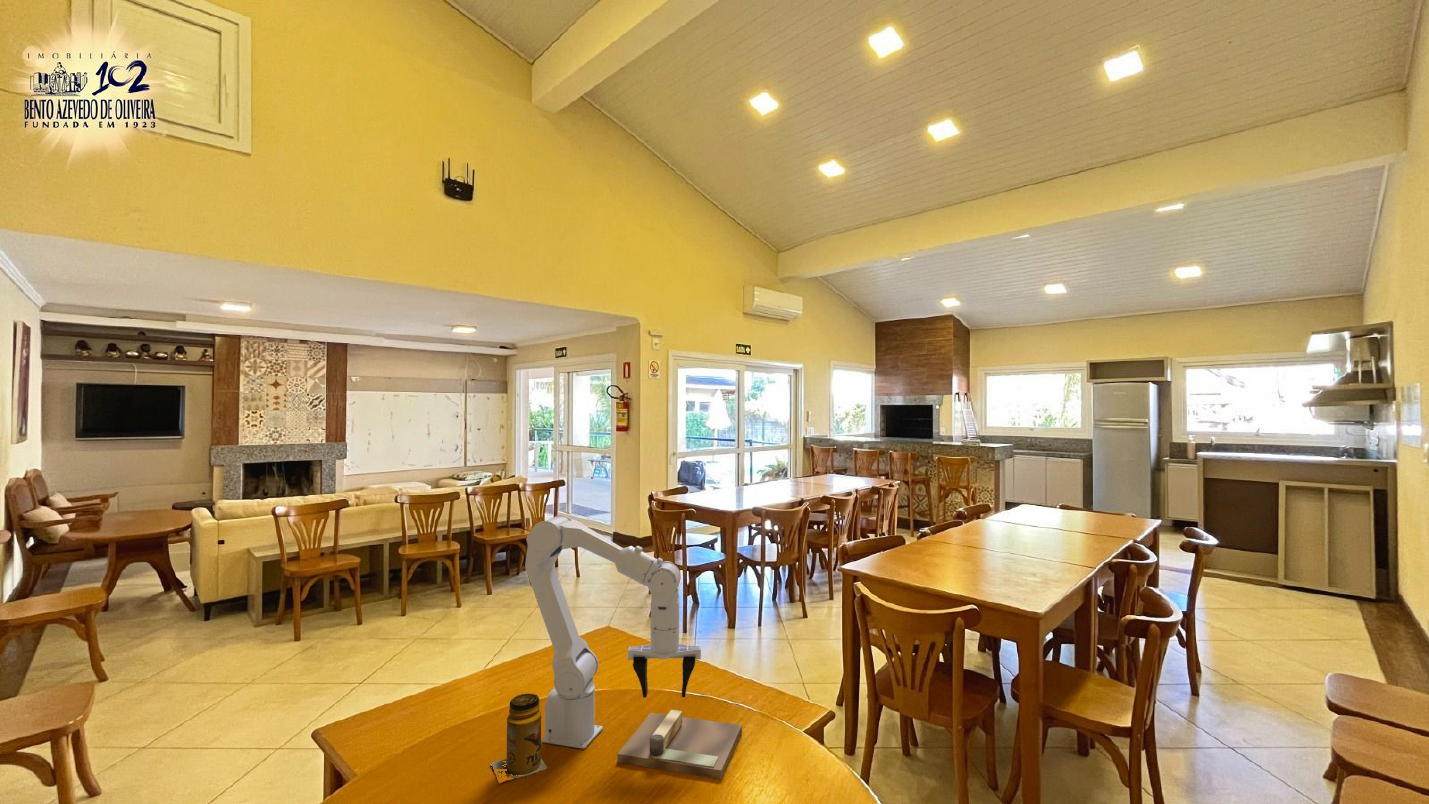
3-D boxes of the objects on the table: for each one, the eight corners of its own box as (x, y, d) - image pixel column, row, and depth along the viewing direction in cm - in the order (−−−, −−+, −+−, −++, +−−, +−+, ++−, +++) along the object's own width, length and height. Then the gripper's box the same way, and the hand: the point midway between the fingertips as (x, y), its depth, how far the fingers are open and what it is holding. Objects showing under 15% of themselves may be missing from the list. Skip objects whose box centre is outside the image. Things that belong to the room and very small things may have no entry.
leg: (660, 756, 101) (660, 743, 102) (647, 754, 102) (647, 741, 102) (682, 723, 113) (682, 711, 113) (670, 721, 114) (670, 709, 114)
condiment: (547, 769, 101) (548, 701, 102) (498, 785, 97) (500, 714, 97) (536, 750, 107) (536, 686, 108) (489, 765, 103) (491, 698, 103)
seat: (617, 762, 103) (617, 752, 103) (650, 720, 118) (650, 711, 118) (721, 779, 97) (721, 769, 98) (742, 732, 113) (741, 724, 113)
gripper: (625, 632, 108) (625, 705, 107) (700, 632, 108) (700, 704, 107) (630, 620, 115) (630, 688, 114) (700, 620, 115) (700, 688, 114)
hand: (664, 695), depth 111 cm, fingers open, 7 cm apart
